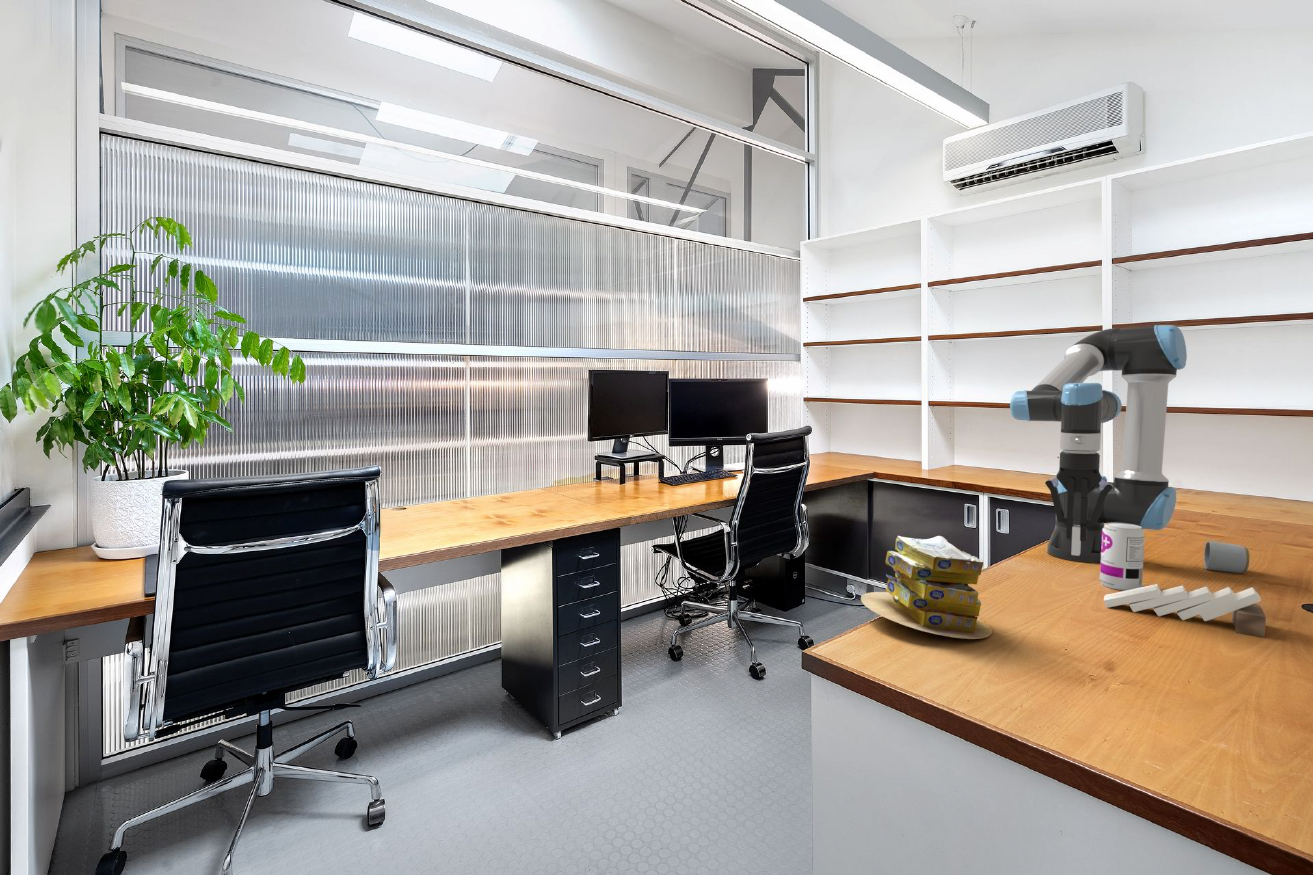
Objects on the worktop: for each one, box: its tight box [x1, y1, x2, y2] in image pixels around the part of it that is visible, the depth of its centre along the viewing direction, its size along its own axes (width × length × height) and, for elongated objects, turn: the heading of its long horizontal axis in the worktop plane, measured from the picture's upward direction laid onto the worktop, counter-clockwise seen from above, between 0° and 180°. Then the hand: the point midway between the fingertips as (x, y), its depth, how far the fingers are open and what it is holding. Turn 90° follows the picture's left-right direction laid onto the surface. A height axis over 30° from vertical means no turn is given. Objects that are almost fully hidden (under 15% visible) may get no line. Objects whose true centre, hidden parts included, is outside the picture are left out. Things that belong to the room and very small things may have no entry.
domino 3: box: [1153, 586, 1213, 617], centre depth 133 cm, size 2×5×10 cm
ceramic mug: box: [1203, 540, 1251, 574], centre depth 168 cm, size 11×8×8 cm
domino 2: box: [1128, 585, 1188, 613], centre depth 135 cm, size 2×5×10 cm
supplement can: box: [1099, 523, 1145, 591], centre depth 153 cm, size 8×8×15 cm
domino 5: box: [1199, 587, 1262, 622], centre depth 128 cm, size 2×5×10 cm
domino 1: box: [1103, 583, 1162, 609], centre depth 138 cm, size 2×5×10 cm
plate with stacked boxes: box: [860, 535, 993, 640], centre depth 130 cm, size 25×25×17 cm
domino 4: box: [1176, 586, 1237, 621], centre depth 130 cm, size 2×5×10 cm
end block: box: [1231, 603, 1267, 638], centre depth 126 cm, size 4×9×4 cm, turn 142°
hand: (1075, 553), depth 145 cm, fingers closed
